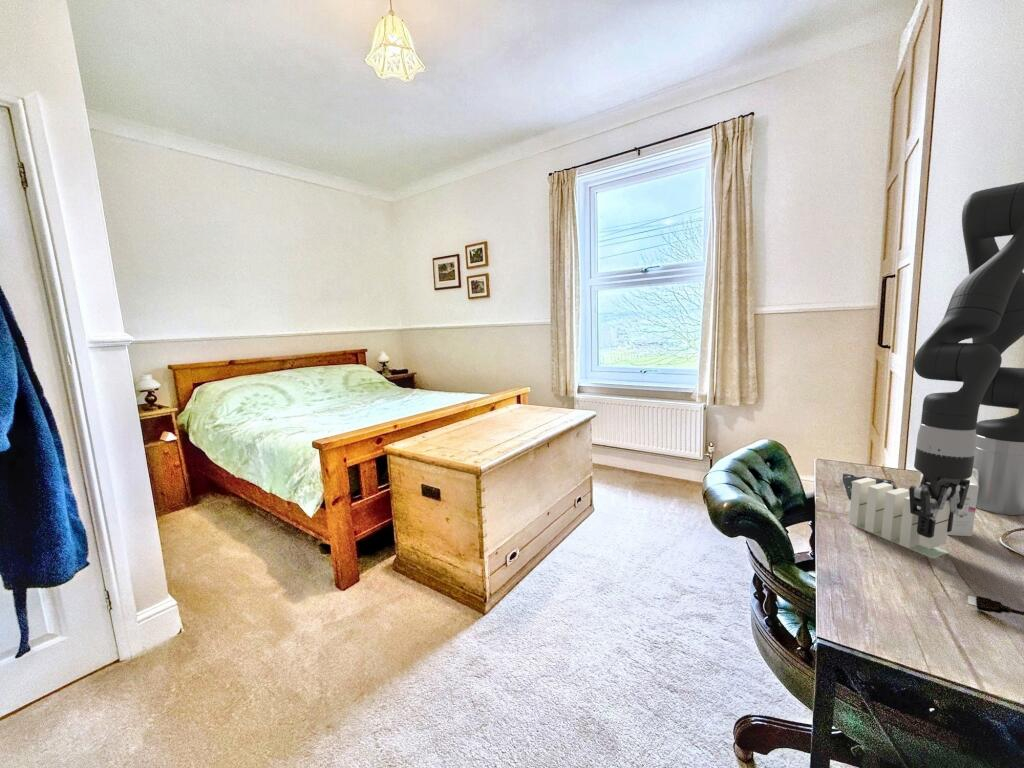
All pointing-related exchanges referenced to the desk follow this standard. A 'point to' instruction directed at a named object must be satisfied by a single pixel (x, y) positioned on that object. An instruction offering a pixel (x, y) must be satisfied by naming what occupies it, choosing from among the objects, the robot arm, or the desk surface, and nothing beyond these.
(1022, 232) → the robot arm
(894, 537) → the domino
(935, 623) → the desk surface
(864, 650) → the desk surface
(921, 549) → the felt strip
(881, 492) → the domino
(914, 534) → the domino
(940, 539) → the domino
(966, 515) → the ink cartridge box
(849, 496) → the disk drive
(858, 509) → the domino
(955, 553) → the desk surface
